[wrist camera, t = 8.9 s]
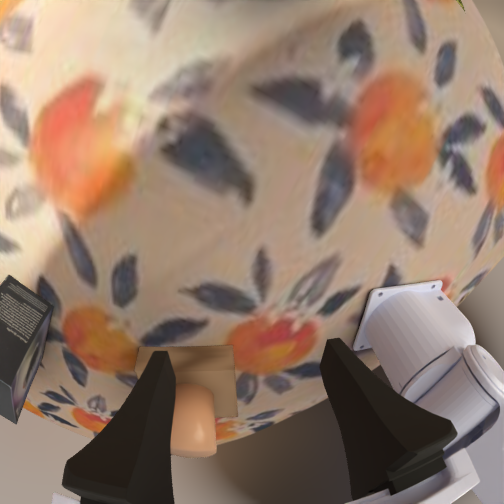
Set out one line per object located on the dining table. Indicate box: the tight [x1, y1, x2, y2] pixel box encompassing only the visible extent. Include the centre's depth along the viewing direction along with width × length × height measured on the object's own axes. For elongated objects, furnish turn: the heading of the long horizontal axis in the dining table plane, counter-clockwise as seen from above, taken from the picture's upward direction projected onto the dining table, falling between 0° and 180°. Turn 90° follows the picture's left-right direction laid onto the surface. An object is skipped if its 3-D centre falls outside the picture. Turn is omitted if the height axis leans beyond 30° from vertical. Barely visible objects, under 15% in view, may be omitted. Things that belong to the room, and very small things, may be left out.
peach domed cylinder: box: [170, 384, 217, 458], centre depth 21 cm, size 5×5×6 cm
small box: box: [0, 275, 53, 424], centre depth 17 cm, size 11×6×10 cm, turn 142°
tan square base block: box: [134, 345, 238, 418], centre depth 25 cm, size 9×9×3 cm
